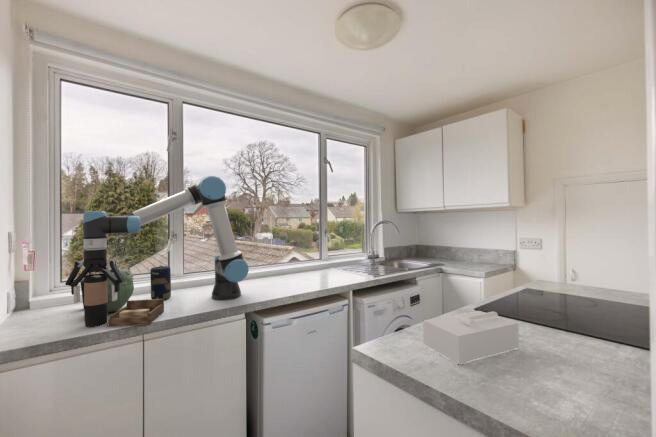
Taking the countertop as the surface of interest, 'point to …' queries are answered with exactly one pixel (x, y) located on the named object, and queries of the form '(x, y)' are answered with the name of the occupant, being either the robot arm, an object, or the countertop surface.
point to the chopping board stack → (134, 313)
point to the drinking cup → (83, 288)
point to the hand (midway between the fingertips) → (96, 301)
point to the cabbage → (120, 291)
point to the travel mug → (95, 300)
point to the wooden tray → (152, 304)
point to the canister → (160, 282)
